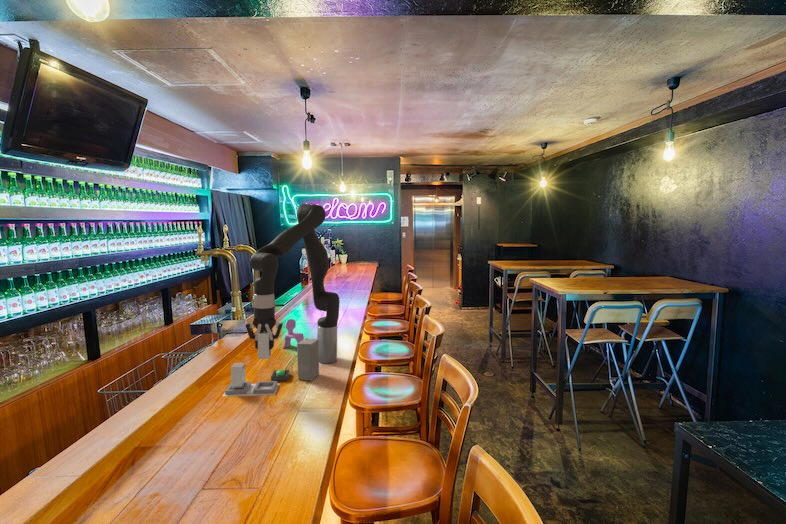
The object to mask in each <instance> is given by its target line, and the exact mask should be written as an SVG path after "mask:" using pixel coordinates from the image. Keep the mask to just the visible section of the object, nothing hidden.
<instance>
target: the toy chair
mask: <svg viewBox="0 0 786 524" xmlns="http://www.w3.org/2000/svg"><path fill="white" fill-rule="evenodd" d="M296 324H297V323H296V320H295V319H293V318H288V319H287V320H286V322H285V325H284V326H285V329H286V330H287V334H285V337H284V344H283V347H282V349H283V350H284V349H286V348H288V347H289V346H291V343H292V342H291V339H294V340H296V343H299V342H301V340H304V339H305V336H304V333H302V332H295V331H294V329H296ZM295 352H297V348H296V350H295Z"/></svg>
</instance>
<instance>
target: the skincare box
mask: <svg viewBox="0 0 786 524" xmlns="http://www.w3.org/2000/svg"><path fill="white" fill-rule="evenodd" d="M296 343H297V342H296ZM296 345H297V347H296V349H297V351H296V353H297V380H300V379H301V381H309V380H311V381H310V382H313V380H314V379H315V378H316V377H317V376H318V375H319V374H320V362H319V350H318V339H317V338H305V337H304V340H301V342H299V343H297V344H296Z"/></svg>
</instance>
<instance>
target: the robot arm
mask: <svg viewBox="0 0 786 524" xmlns="http://www.w3.org/2000/svg"><path fill="white" fill-rule="evenodd" d="M296 219H297V224H295V225H293V226H291V227H289V228H287V229H285V230H283V231H282V232H280V233H279V234H278V235H277V236H276V237H275V238H274V239H273V240H272V241H271V242H270V243H267V244H266V245H265V246H263V247H260V248H259V249H257V250H256V251H255V252H254V253H252V255H251V257H250V260H249V265H250V268H251V269H252V270H254V271H257V272H261V276H260V277H257V278H256V279H255V280H254V285H253V289H254V290H253V291H254V293H253V294H254V297H253V320H252V321H251V322H249V321H248V322H247V323H246V324H245V328H246V331H247V334H248V337H249V338H250V340H254V344H255V345H254V347H255V349H256V350H257V351H258V333H260V332H267V333H269V338H270V340H269V349H270V350H271V351H272V349H273V348H274V347H275V340H276V339H278V338H279V337H280V334H281V331H282V328H283V326H284V323H283V322H279V321H277V320H276V311H275V310H276V307H275V306H276V300H275V299H276V297H275V281H276V278H277V277H276V276H277V274H278V268H279V260H278V258H282V257H284V256H285V255H287V253H289V251H291V249H293V247H294V246H295V245H296V244H297V243H298V242H299V241H301V240H303V244H304V248H305V253H306V259H307V264H308V269H309V274H310V279H311V285H312V298H313V304H314V308H316V310H318V311H323V312H326V315H325V316H324V317H320V318H319V319H317V336H316V337H317V338H316V339H318V350H319V364H333V363H337V360H338V359H337V358H338V321H339V317H340V296H339V294H338V293H337V292H334V291H333V292H331V291H326V289H325V278H326V275H327V274H328V271H329V269H330V261H329V254H328V252H327V249H326V247H325V246H324V244H323V243H322V242H321V240H320V239H319V237H318V235H317V232H316V230H315V229H317V228H318V227H320V226H321V225H322V224H323V223H324V222H325V220H326V210H325V208H324V207H323V206H322V205H321V204H316V203H312V204H311V203H303V204H300V205H299V206H298V207H297V210H296ZM253 327H255V329H256V332H254V330H253ZM274 327H276V329H277V330H276V332H275V334H274V329H273V328H274Z"/></svg>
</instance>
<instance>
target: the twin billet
mask: <svg viewBox="0 0 786 524" xmlns="http://www.w3.org/2000/svg"><path fill="white" fill-rule="evenodd" d="M230 380H231V381H230V383H231V389H244V388H245V382H246V362H233V364H232V365H231V366H230Z"/></svg>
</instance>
